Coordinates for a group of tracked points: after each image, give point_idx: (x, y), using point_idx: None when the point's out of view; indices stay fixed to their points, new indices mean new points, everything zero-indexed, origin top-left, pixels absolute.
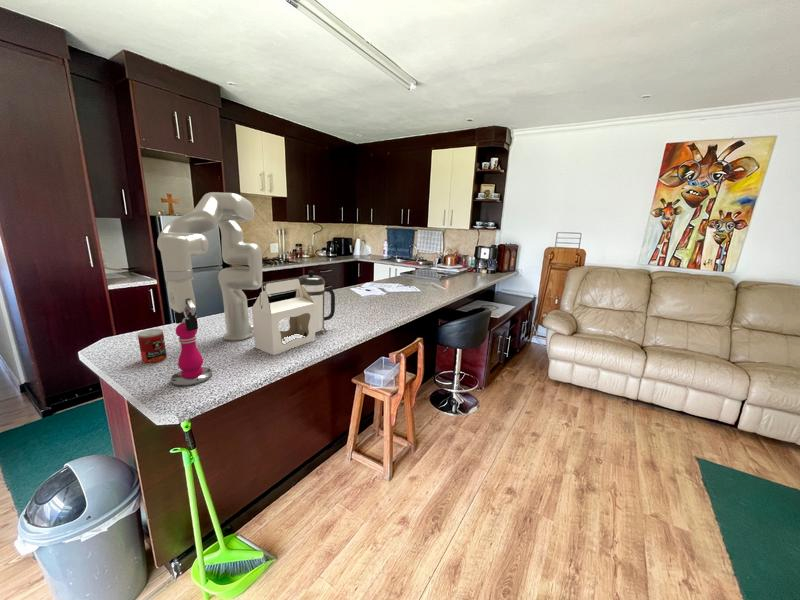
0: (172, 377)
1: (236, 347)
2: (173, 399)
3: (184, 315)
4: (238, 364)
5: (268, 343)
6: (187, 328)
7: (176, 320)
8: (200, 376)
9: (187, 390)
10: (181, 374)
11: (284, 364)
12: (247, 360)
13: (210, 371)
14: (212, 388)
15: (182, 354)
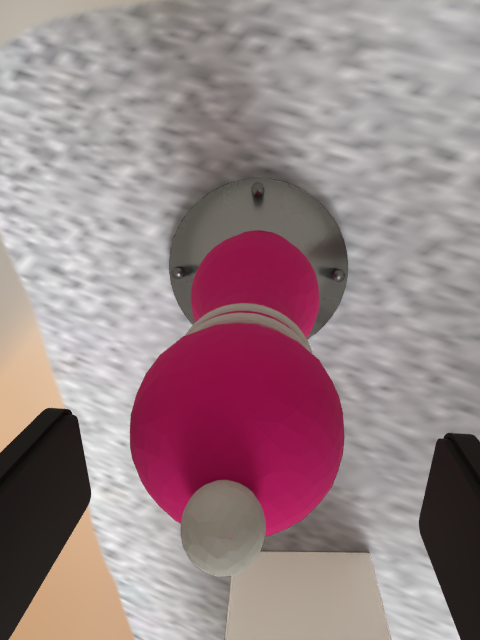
0: (297, 196)
1: None
2: (92, 133)
3: (459, 612)
4: None
5: (263, 596)
6: (31, 433)
7: (457, 470)
8: None
9: (143, 209)
10: (260, 232)
11: (129, 530)
12: None
13: None
14: (95, 289)
15: (236, 276)
